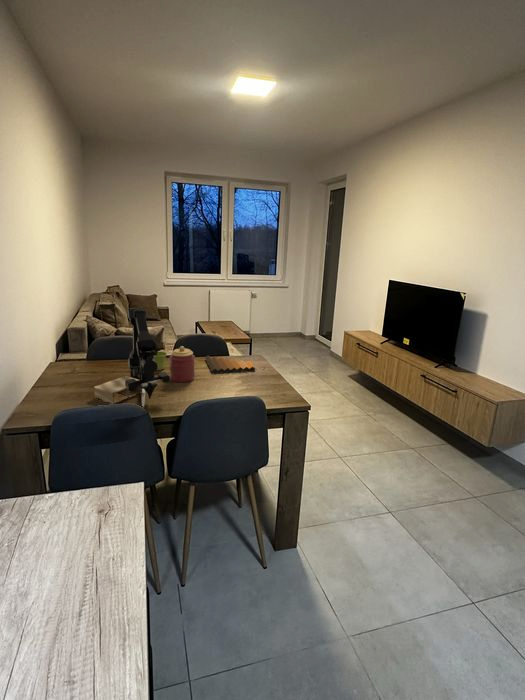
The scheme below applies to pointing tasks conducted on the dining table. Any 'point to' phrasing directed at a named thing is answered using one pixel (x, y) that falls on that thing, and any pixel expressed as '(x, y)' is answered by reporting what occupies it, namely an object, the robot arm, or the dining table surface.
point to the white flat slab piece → (143, 397)
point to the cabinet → (115, 389)
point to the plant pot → (160, 360)
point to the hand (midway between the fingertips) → (149, 398)
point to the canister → (182, 365)
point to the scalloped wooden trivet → (228, 365)
